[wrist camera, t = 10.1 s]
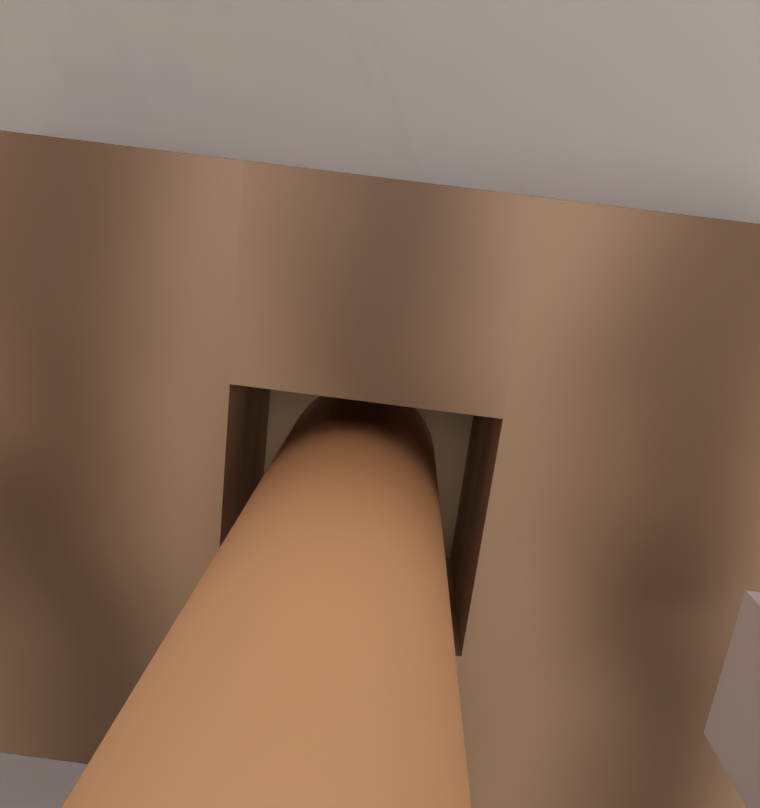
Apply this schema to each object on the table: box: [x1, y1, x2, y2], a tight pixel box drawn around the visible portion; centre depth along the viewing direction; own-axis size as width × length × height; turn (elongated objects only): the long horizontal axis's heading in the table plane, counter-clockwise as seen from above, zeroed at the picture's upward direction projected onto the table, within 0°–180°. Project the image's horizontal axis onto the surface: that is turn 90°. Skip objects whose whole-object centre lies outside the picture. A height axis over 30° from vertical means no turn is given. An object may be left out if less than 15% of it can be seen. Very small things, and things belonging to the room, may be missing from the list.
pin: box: [62, 396, 471, 808], centre depth 12 cm, size 4×4×14 cm
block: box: [0, 131, 760, 808], centre depth 17 cm, size 20×14×6 cm
